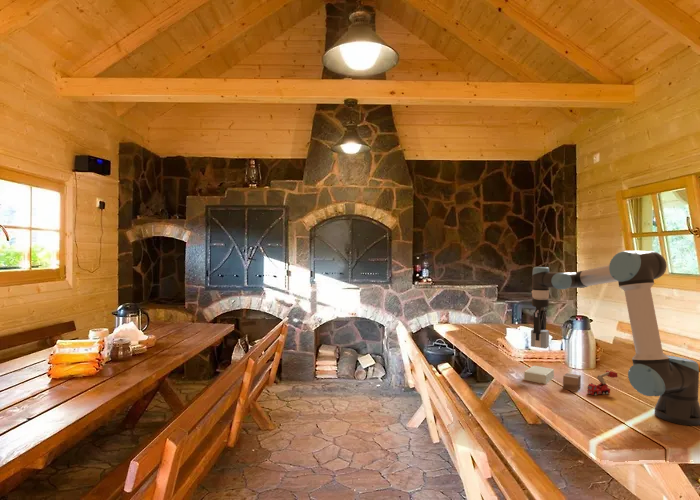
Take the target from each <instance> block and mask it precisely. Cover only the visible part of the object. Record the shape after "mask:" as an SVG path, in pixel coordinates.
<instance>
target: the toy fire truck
mask: <svg viewBox="0 0 700 500" xmlns="http://www.w3.org/2000/svg"><path fill="white" fill-rule="evenodd" d="M605 377H609V378H618V373H617V372H615V371H612V370H605V373H602V374H598V375H597V376H596V379H597V380H598V382H599V383H598V384H593V383H592V382H591V383H588V384H587V385H588V386H587V394H588V395H591V396H597V395H608V394H611V388H609V387H608V386H609V385H608V384H607V383H606V381H605Z"/></svg>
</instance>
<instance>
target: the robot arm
mask: <svg viewBox="0 0 700 500" xmlns="http://www.w3.org/2000/svg"><path fill="white" fill-rule="evenodd" d="M667 266H668V264H667V261H666V259H665V258H664V256H663V255H661V253H660V252H656V251H653V250H624V251H620V252H617V253H616V254H615V255H614V256H612V258H611V259H610V262H609V265H604V266H600V267H594V268H590V269H585V270H580V271H579V270H578V271H573V272H572V271H571V272H570V271H567V272H558V271H557V272H556V271H555V272H553V271H550V268H549V267H548V266H546V267H545V266H534V267H533V268H532V275H531V279H532V281H531V282H532V284H531V286H532V291H530V292H531V294H532V299H531V306H532V307H535V310H534V312H533V314H532V315H533V329H534V331H533V333H535V347H534V348H539V347H541V334H540V333H541V330H547V309H545V308H548V307H549V306H550V303H549V302H550V301H549V298H550V291H549V290H550V288H551V289H557V290H568V289H572V288H573V289H578V288H579V289H581V288H583V289H585V288H588V287H590V286H597V285H603V284H609V283H614V282H618V287H619V289H621V290H623V292H624V295H625V296H624V297H625V302H626V306H627V312H628V317H629V318H628V319H629V323H630V329H631V334H632V339H633V340H632V341H633V344H634V345H633V346H634V350H635V354H634V355H633V356H632V358H631V359H632V365H631V366H630V367H629V369H628V371H627V378H628V381H629V383H630V385H631V386H632V388H633V389H634V390H635V391H637V393H639V394H641V395H643V396H646V397H658V399H657V402H656V404H655V406H654V415H655V416H656V417H657V418H658V419H661V420H664V421H665V422H670V423H673V424H678V425H684V426H694V427H695V426H700V403H699V384H700V383H699V379H700V377H699V376H700V371H699V369H700V368H699V364H698V362H697V361H695V360H692V359H688V358H684V357H679V356H674V355H667V354H665V353H664V352H663V347H662V346H663V345H662V342H661V335H660V329H659V325H658V321H657V320H658V319H657V316H656V311H655V305H654V300H653V295H652V289H651V288H652V287H653V286H654V285H655V280H658V279H660V278H661V277H662V276H664V274H665V273H666V270H667V268H668V267H667Z"/></svg>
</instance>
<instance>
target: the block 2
mask: <svg viewBox="0 0 700 500" xmlns="http://www.w3.org/2000/svg"><path fill="white" fill-rule="evenodd" d="M562 379H563V380H562V389H563V390H568V391H572V392H579V390H581V387H582V383H581V380H582V377H581V374H574V373H568V372H566V373H564V375H563V376H562Z"/></svg>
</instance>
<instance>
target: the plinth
mask: <svg viewBox="0 0 700 500" xmlns="http://www.w3.org/2000/svg"><path fill="white" fill-rule="evenodd" d="M523 373H524V376H523V379H524V381H528V382H529V381H530V382H534V383H539V384H544V385H547V383H549V382H550V381H551V380H553V378H554V377H555V369H554V368H550V367H544V366H537V365H532V366H531V367H529V368H528V369H526V370H525V371H524V372H523Z"/></svg>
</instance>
